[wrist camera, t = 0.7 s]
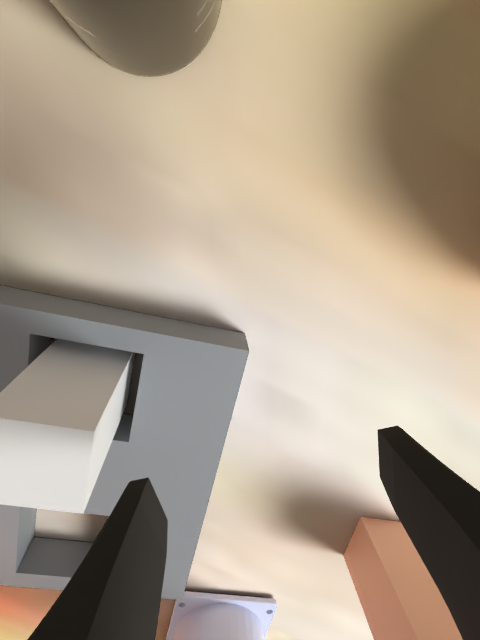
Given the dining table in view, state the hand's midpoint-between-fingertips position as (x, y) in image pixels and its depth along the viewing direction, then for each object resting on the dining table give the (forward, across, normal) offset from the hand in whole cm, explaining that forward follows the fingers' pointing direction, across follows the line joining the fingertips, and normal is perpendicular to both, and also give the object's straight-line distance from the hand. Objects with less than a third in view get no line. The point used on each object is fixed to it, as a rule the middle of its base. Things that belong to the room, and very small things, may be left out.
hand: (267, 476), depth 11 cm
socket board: (+10, +11, +6) cm, 16 cm away
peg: (+9, -6, +20) cm, 23 cm away
